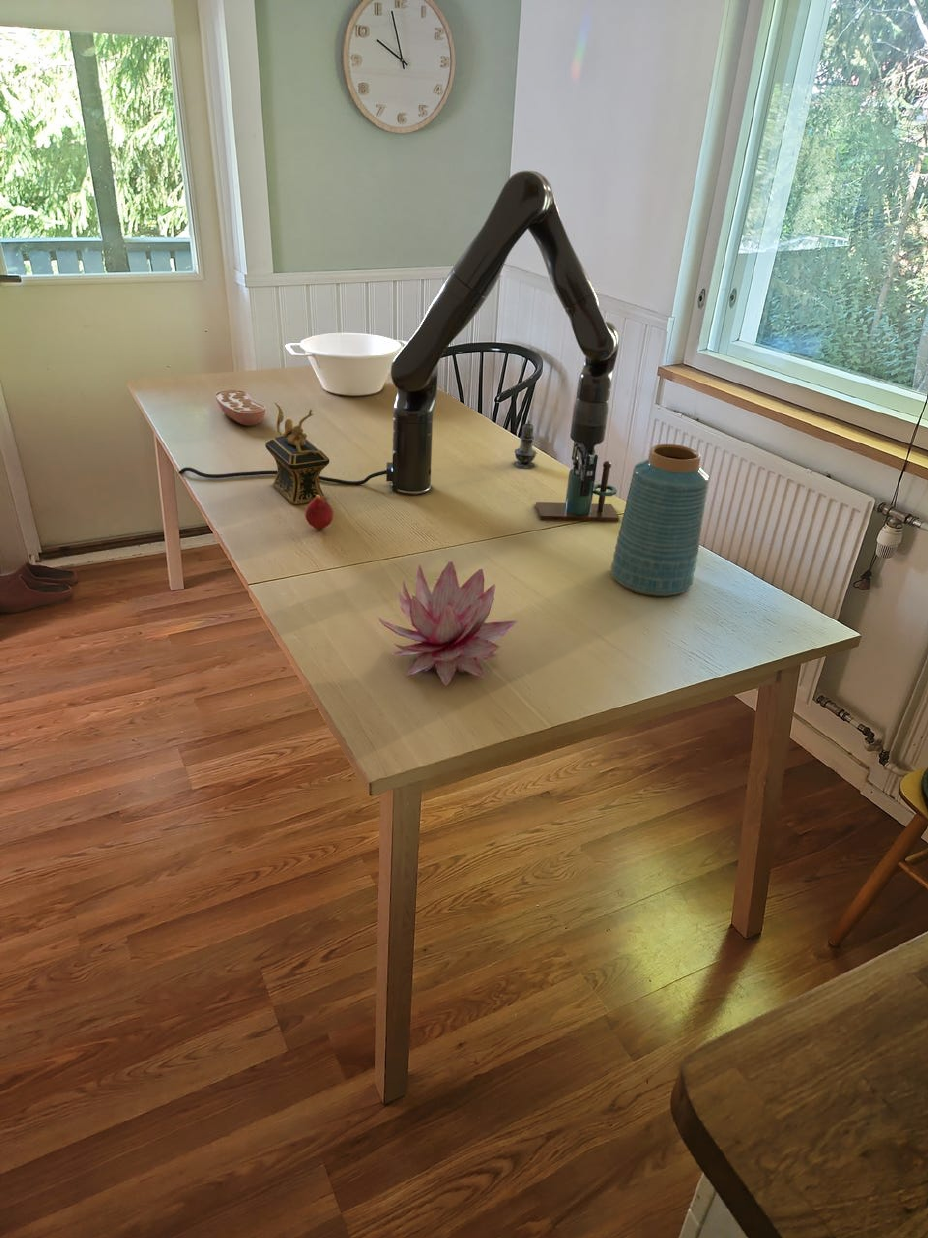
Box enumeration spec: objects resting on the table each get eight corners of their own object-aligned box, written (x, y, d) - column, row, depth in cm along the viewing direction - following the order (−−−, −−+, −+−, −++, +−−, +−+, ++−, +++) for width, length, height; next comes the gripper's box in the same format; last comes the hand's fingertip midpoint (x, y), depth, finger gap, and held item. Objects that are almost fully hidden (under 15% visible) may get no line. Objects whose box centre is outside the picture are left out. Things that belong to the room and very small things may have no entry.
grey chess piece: (533, 470, 217) (538, 424, 211) (511, 467, 218) (515, 422, 212) (536, 462, 222) (541, 418, 216) (514, 459, 223) (519, 415, 217)
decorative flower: (405, 618, 149) (407, 541, 142) (522, 642, 145) (530, 564, 137) (358, 682, 132) (358, 599, 124) (489, 712, 127) (497, 628, 119)
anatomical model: (271, 427, 234) (270, 410, 231) (236, 432, 229) (234, 414, 226) (242, 405, 250) (241, 388, 247) (209, 408, 245) (208, 391, 243)
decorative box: (332, 501, 192) (330, 417, 182) (292, 508, 187) (288, 422, 177) (299, 472, 206) (296, 392, 196) (261, 478, 202) (256, 396, 192)
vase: (675, 608, 158) (704, 474, 145) (596, 582, 165) (617, 452, 152) (702, 576, 170) (732, 450, 157) (628, 553, 177) (650, 431, 164)
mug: (567, 514, 191) (572, 477, 186) (562, 504, 196) (567, 467, 192) (615, 515, 192) (621, 478, 187) (609, 505, 197) (615, 468, 193)
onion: (338, 527, 180) (337, 492, 176) (325, 537, 176) (324, 502, 172) (313, 522, 182) (312, 487, 178) (301, 532, 177) (299, 497, 173)
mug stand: (540, 519, 190) (546, 465, 184) (535, 505, 197) (541, 453, 190) (618, 521, 192) (627, 468, 185) (610, 507, 199) (618, 455, 192)
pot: (301, 406, 252) (299, 358, 245) (280, 378, 277) (278, 333, 270) (427, 399, 266) (428, 353, 258) (396, 372, 291) (397, 330, 284)
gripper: (567, 408, 189) (558, 476, 197) (579, 428, 176) (569, 500, 185) (599, 409, 189) (589, 477, 198) (614, 430, 177) (602, 501, 185)
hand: (580, 488), depth 191 cm, fingers open, 8 cm apart
